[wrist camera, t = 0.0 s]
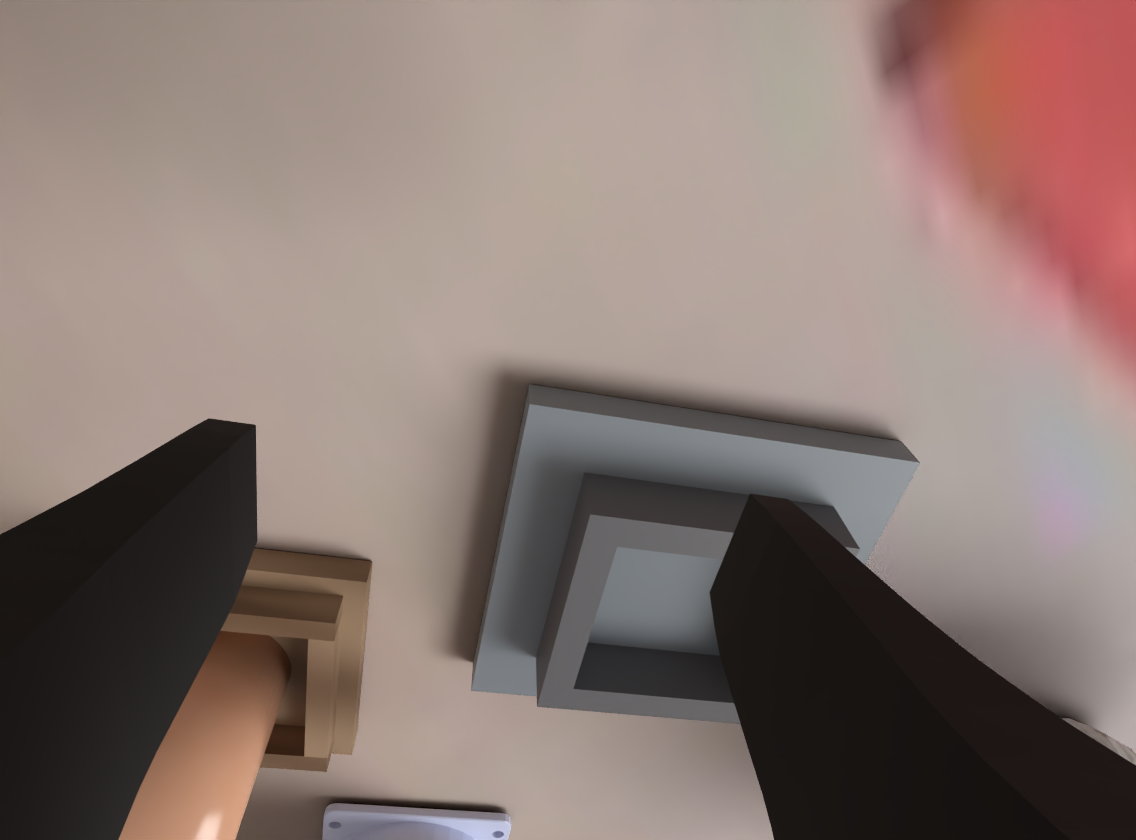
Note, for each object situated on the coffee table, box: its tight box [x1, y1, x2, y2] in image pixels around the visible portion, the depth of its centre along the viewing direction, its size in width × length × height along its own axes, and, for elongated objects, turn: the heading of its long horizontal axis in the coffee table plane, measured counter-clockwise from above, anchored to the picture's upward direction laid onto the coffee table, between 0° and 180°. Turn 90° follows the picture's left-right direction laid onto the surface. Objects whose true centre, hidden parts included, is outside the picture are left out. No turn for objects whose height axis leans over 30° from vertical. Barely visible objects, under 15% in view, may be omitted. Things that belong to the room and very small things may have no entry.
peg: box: [119, 631, 291, 840], centre depth 21 cm, size 4×4×7 cm
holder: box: [220, 548, 372, 772], centre depth 24 cm, size 9×9×2 cm
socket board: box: [471, 384, 920, 724], centre depth 23 cm, size 12×12×3 cm
